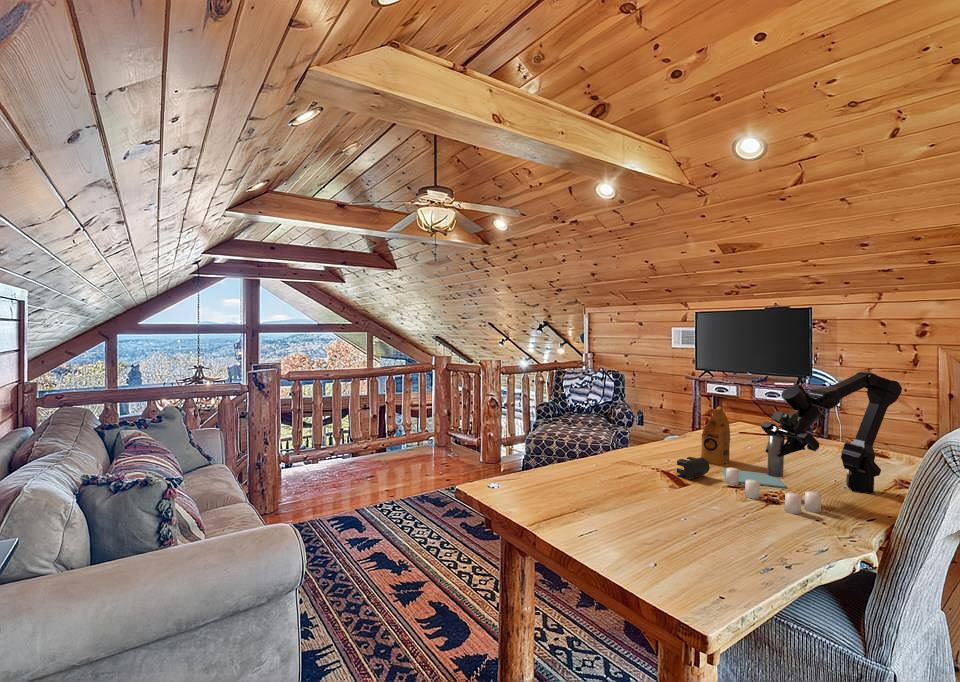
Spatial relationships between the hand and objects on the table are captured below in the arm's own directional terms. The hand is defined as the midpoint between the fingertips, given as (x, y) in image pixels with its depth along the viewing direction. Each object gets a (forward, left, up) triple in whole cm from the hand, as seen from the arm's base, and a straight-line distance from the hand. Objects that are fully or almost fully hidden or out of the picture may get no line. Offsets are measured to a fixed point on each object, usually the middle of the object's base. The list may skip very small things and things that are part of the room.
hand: (772, 454), depth 153 cm
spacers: (+2, +2, -13) cm, 14 cm away
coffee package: (+15, -35, -14) cm, 40 cm away
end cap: (+23, -8, -14) cm, 28 cm away
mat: (+4, -16, -13) cm, 21 cm away
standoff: (-1, -1, -7) cm, 7 cm away
